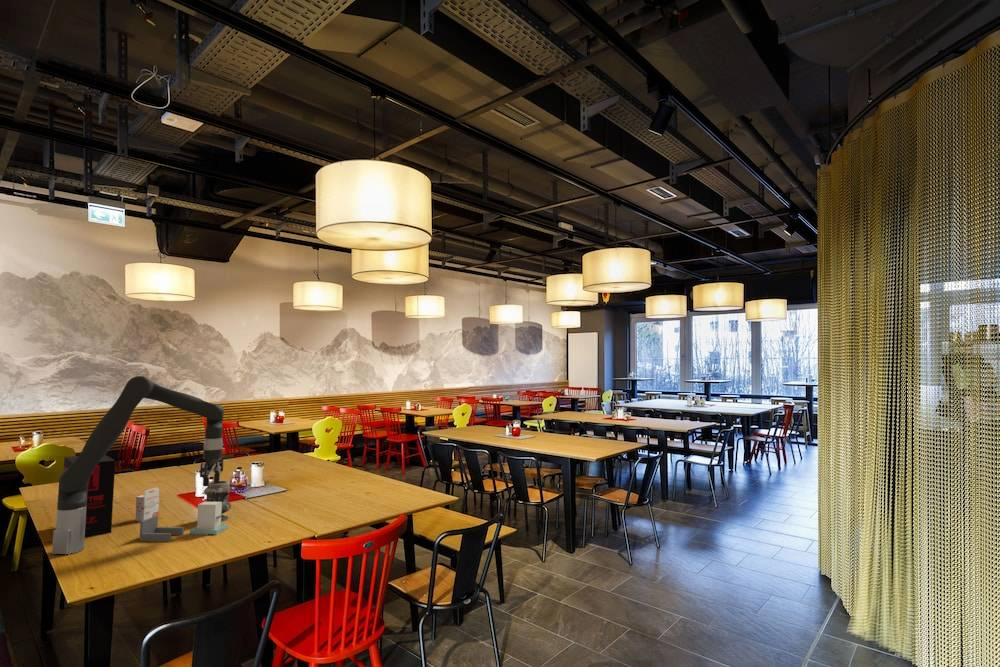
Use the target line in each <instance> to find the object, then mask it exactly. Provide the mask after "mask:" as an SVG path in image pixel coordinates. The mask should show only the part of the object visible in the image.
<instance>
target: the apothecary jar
mask: <svg viewBox="0 0 1000 667" xmlns="http://www.w3.org/2000/svg"><path fill="white" fill-rule="evenodd" d="M228 482H229V481H228V480H219V482H214V481H209V485H208V486H206V487H205V488H204V491H203V494H204V495H205V496H206V501H205V502H222V511H221V515H222V517H221V522H224V521H227V520H228V519H229V516H228V515H224V514H225V513H227V512H228V511H229V510H231V508H232V504H231V503H230V502H229V494H230V492H231V491H232V487H231V486H230V485H229V483H228Z"/></svg>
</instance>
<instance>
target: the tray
mask: <svg viewBox="0 0 1000 667" xmlns="http://www.w3.org/2000/svg"><path fill="white" fill-rule="evenodd" d="M227 528H229V524H228V523H221V527H219V528H218V529H216V530H215V529H197V526H195V527H193V528H191V529H189V535H196V536H198V535H202V536H203V534H204V535H207V536H211V534H213V535H212V536H215V535H216V536H217V535H219V534H221V533H222V532H224V531H226V530H228V529H227ZM225 529H226V530H225ZM220 532H221V533H220ZM218 533H219V534H218ZM208 534H210V535H208Z"/></svg>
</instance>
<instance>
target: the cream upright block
mask: <svg viewBox="0 0 1000 667" xmlns="http://www.w3.org/2000/svg"><path fill="white" fill-rule="evenodd" d="M221 511H222V502H206V501H203V502H200V503H198V504H197V522H196V523H197V524H196V527H197V529H215V530H216V529H218V528H219V527H221V524H222V521H221V517H222V515H223V514H222V515H221Z"/></svg>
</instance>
